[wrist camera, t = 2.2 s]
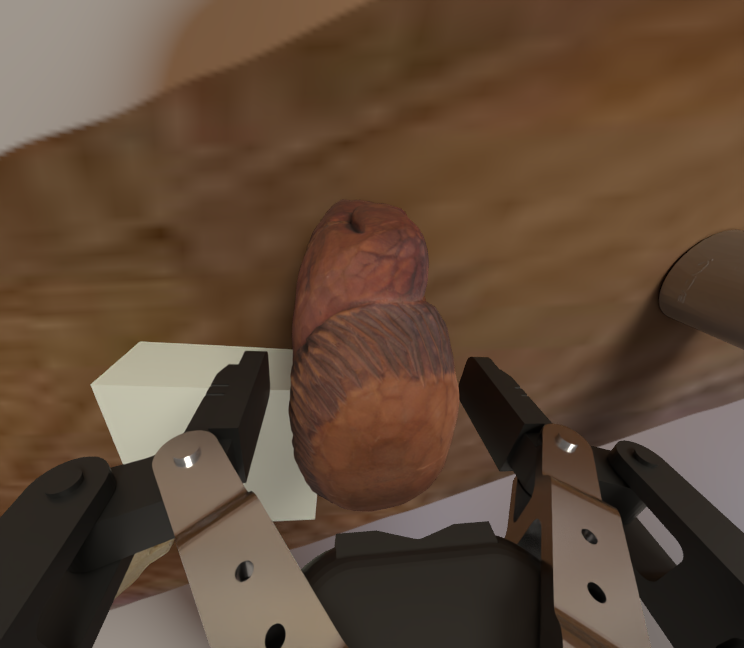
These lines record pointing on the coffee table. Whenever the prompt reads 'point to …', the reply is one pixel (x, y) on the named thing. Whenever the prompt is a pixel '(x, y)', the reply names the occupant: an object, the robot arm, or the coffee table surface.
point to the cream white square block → (179, 403)
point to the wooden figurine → (369, 362)
